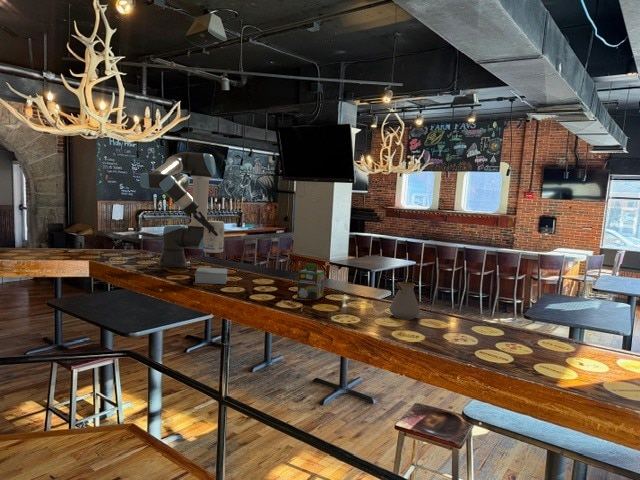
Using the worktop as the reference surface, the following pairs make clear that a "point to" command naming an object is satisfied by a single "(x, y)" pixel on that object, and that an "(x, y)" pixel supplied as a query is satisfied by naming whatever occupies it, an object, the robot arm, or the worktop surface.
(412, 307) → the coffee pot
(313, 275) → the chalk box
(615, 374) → the worktop surface
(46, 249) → the worktop surface
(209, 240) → the supplement tub
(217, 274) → the slate-blue box
